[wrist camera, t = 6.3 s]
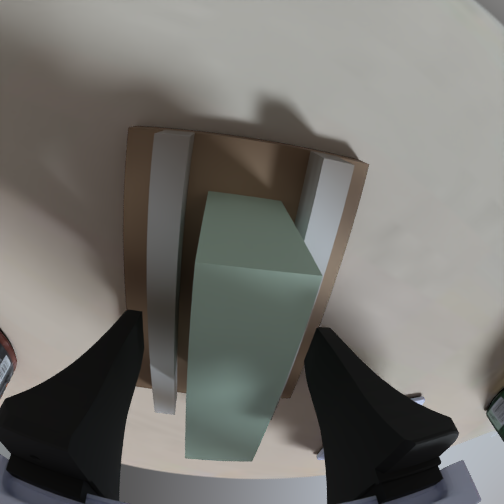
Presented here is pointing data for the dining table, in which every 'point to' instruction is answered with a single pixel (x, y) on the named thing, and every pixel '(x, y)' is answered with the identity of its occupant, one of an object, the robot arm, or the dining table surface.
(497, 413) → the coffee jar
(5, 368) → the supplement bottle
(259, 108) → the dining table surface
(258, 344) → the pale green block
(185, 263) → the brown shallow piece
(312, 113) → the dining table surface
